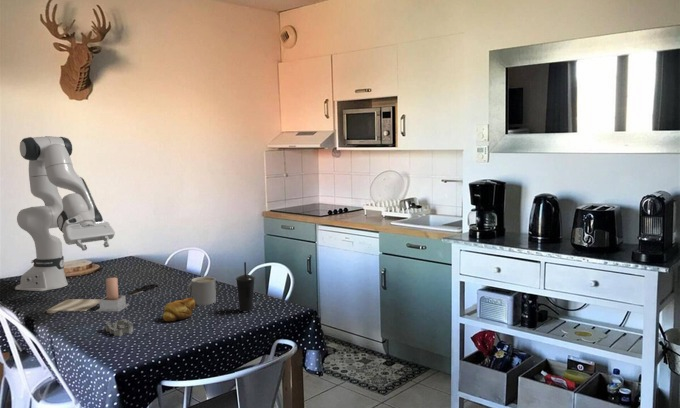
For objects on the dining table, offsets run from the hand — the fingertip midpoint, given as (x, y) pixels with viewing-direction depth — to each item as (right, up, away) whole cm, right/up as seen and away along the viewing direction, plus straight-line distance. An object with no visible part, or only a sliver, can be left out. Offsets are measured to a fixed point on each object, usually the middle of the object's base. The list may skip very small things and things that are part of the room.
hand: (96, 247), depth 232 cm
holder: (+9, -25, -5) cm, 27 cm away
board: (-8, -25, -1) cm, 26 cm away
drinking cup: (+64, -25, -7) cm, 69 cm away
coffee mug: (+43, -24, +7) cm, 49 cm away
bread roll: (+39, -26, -16) cm, 50 cm away
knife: (+9, -23, +22) cm, 33 cm away
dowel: (+9, -24, -5) cm, 26 cm away
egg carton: (+22, -28, -31) cm, 47 cm away
